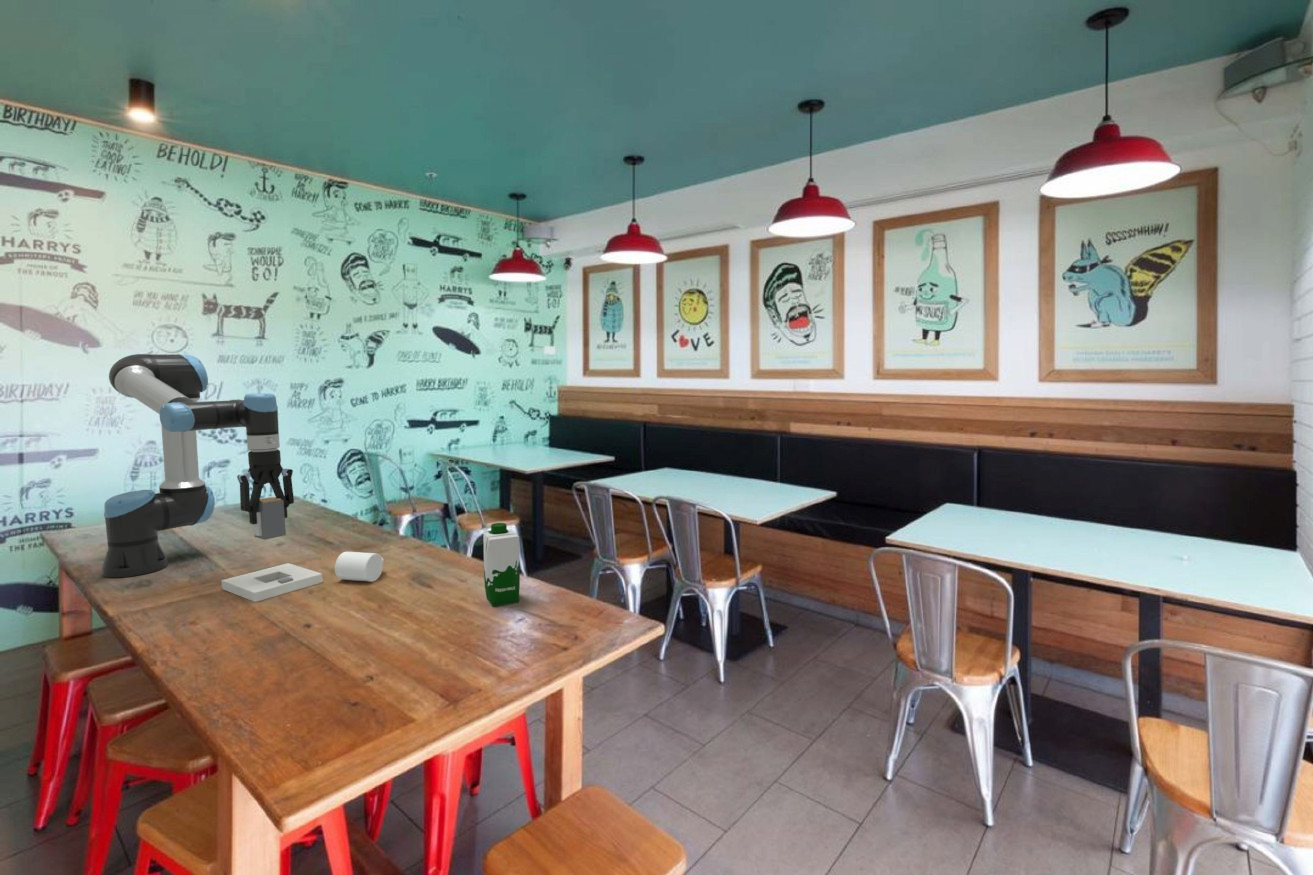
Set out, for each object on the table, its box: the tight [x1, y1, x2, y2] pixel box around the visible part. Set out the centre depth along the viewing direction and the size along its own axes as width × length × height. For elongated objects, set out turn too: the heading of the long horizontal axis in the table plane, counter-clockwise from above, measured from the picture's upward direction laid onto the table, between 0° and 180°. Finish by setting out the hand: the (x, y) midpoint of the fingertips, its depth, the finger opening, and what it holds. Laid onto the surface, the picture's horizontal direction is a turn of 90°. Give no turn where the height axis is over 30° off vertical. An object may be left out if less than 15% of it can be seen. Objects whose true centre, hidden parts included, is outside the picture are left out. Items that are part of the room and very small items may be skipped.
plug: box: [254, 496, 287, 541], centre depth 174 cm, size 6×6×10 cm
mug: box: [334, 551, 385, 583], centre depth 183 cm, size 12×10×8 cm
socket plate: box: [221, 562, 323, 603], centre depth 176 cm, size 18×18×3 cm
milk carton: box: [483, 522, 521, 608], centre depth 164 cm, size 9×9×20 cm
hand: (270, 532), depth 174 cm, fingers closed on plug, 5 cm apart
